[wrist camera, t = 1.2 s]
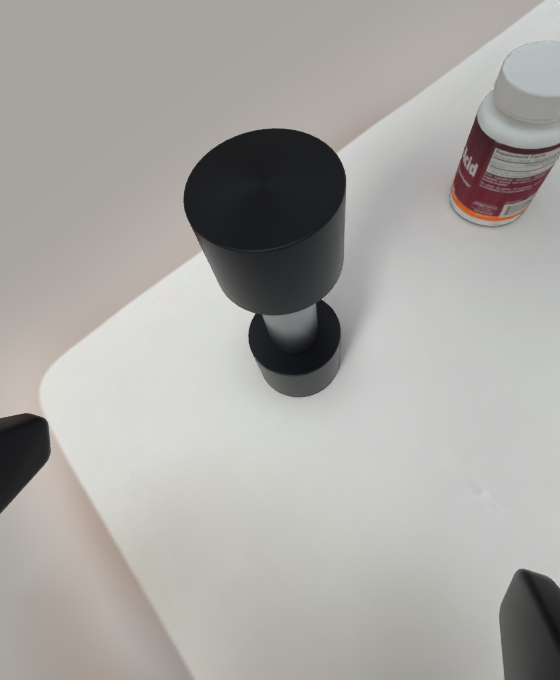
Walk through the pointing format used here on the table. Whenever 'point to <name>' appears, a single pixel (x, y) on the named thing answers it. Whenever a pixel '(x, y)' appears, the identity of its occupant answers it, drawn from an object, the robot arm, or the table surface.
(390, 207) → the table surface
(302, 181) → the dumbbell
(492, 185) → the pill bottle
